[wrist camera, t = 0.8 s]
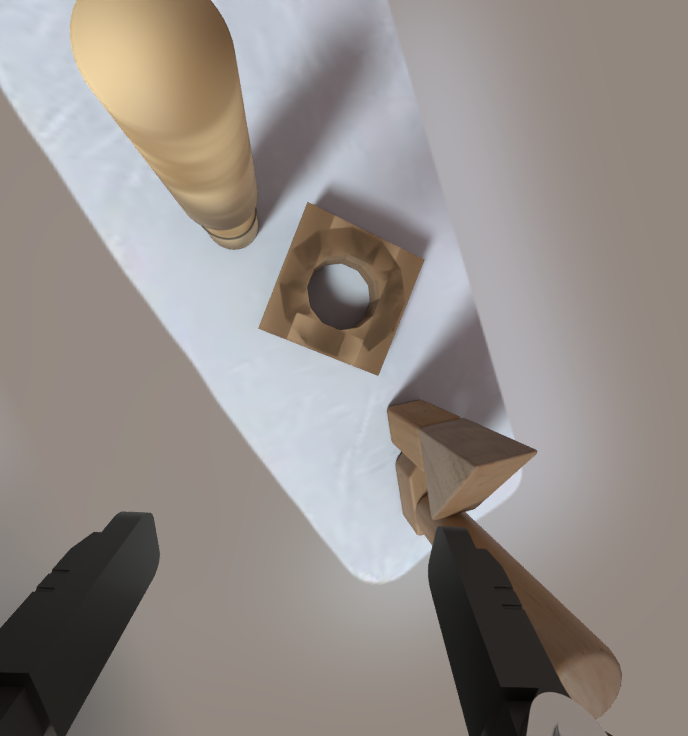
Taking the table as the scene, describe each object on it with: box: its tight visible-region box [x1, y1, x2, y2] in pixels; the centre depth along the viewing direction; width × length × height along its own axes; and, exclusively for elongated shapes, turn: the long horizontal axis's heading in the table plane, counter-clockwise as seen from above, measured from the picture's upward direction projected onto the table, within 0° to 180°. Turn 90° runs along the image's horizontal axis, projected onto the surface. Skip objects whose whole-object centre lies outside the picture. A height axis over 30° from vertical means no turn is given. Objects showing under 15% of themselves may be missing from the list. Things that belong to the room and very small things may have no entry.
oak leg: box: [70, 0, 258, 250], centre depth 18 cm, size 5×5×16 cm
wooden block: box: [387, 400, 622, 720], centre depth 22 cm, size 4×11×18 cm, turn 9°
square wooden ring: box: [259, 202, 424, 376], centre depth 27 cm, size 10×10×3 cm
